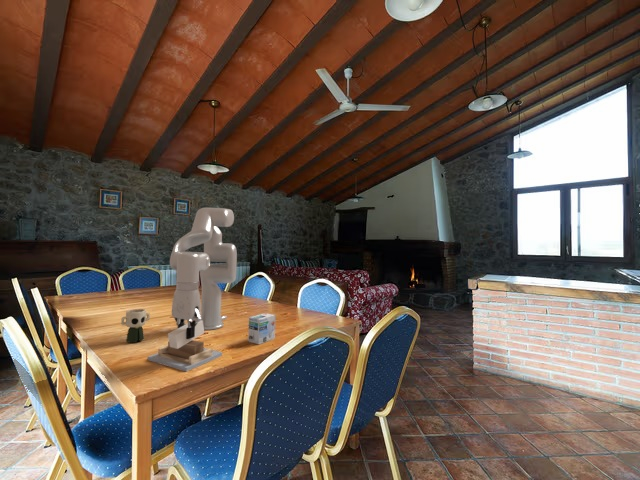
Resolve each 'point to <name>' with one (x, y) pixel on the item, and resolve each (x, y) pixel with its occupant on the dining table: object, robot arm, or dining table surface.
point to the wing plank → (184, 335)
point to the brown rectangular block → (187, 349)
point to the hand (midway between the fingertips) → (185, 336)
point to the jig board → (179, 364)
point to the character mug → (135, 324)
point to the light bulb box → (261, 328)
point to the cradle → (192, 359)
